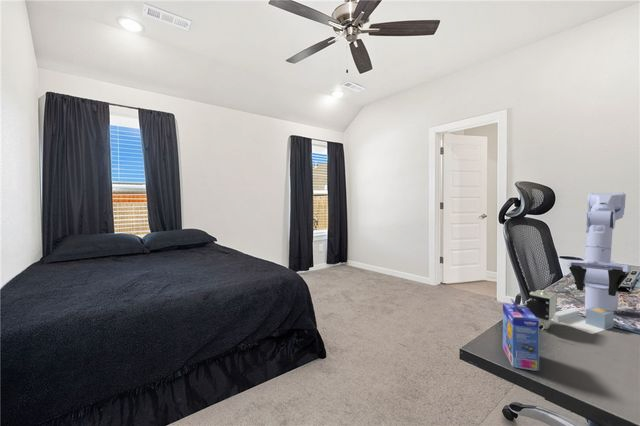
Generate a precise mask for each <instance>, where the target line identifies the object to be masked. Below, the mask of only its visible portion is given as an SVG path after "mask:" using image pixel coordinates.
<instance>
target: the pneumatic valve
mask: <svg viewBox="0 0 640 426" xmlns="http://www.w3.org/2000/svg"><path fill="white" fill-rule="evenodd" d="M557 296H558V292H554V291H549V290H546V289H539V288H538V289H537V290H535V291H533V290H531V292H529V299H528V300H527V301H526V307H527V308H528V309H529V310H530V312H532V313H533V314H534V315H535V316H536V317H537V318H538V319H539V328H541V329H540V331H542V330H544V329H545V330H548V329H549V328H550V326H551V322H552V320H551V319H552V318H553V315H554V314H555V313H556V312H557V302H558V297H557Z"/></svg>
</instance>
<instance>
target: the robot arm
mask: <svg viewBox="0 0 640 426" xmlns="http://www.w3.org/2000/svg"><path fill="white" fill-rule="evenodd" d="M587 209H588V210H587V212H586V215H585V228H586V229H585V233H586V241H585V254H584V255H585V256H584V260H575V259H573V260H572V259H567V263H566V264H567V266H568V269H569V271H570V272H571V275H572V276H573V279H574V283H575V286H576V290H577V291H581V292H584V308H585V309H589V308H592V307H598V308H601V309H605V310H609V311H612V312H615V311H616V312H621V311H619V310H618V309H619V292H618V290H619V288H620V287H621V284H622V283H623V281H624V280H625V279H626V278H627V277H628V273H629V274H631V273H632V266H631V265H629V264H621V263H620V264H619V263H617V262H615V261H614V260H612V245H613V230H614V229H615V227H616V221H617V220H620V219H623V217H624V216H625V209H626V193H625V192H613V193H612V192H611V193H610V192H609V193H608V192H607V193H606V192H602V193H601V192H600V193H599V192H597V193H595V192H590V193H589V194H588V195H587ZM584 286H585V287H584ZM584 288H585V291H584Z"/></svg>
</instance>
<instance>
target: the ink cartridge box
mask: <svg viewBox="0 0 640 426" xmlns="http://www.w3.org/2000/svg"><path fill="white" fill-rule="evenodd" d="M510 300H511V302H512V303H507V302H506V303H505V302H504V303H502V348H503V351H504V353H505V356H506V357H507V359H508V361H509V363H510V365H511V366H512V368H516V369H523V370H529V371H534V372H539V371H540V327H539V319H538V318H537V317H536V316H535V315H534V314H533V313H532V312H530V310H529V309H528V308H527V305H525V304H517V303H516V301H514V299H513V298H510Z"/></svg>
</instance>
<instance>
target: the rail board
mask: <svg viewBox="0 0 640 426" xmlns="http://www.w3.org/2000/svg"><path fill="white" fill-rule="evenodd" d="M581 312H582V309H579V308H577V307H570V308H567V309H563V310H559V311H556V313H555V314H554V315H553V316H552V318H550V319H551V322H552V321H553V322H556V323H558V324H562V325H563V326H564V325H565V326H567V327H570V328H573V329H576V330H579V331H582V332H585V333H588V334H591V335H593V334H596V333H597V334H598V333H599V332H603V331H606V330H608V329H612V328H614V327H615V326H614V325H613V327H610V328H607V329H601V328H598V327H595V326H592V325H589V324H585V323H586V317H583V316H581V315H580V313H581Z"/></svg>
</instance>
